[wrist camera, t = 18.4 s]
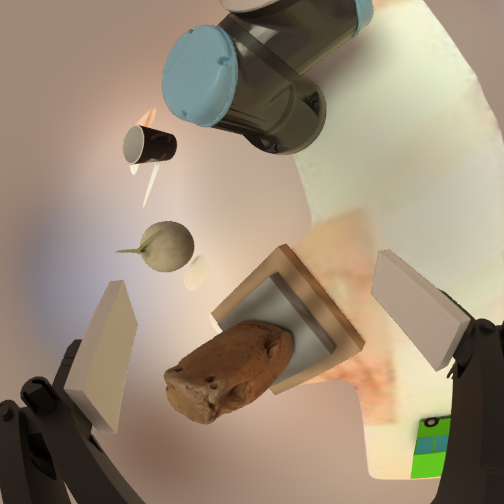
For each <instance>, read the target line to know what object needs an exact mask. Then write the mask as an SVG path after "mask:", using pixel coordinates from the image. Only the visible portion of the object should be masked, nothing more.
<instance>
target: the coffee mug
mask: <svg viewBox="0 0 504 504" xmlns="http://www.w3.org/2000/svg"><path fill="white" fill-rule="evenodd" d="M176 149H177V141H176V138H175V137H174V135H172V134H169V133H165V132H162V131H159V130H155V129H151V128H147V127H144V126H140V125H133V126H131V127H130V128H129V129H128V131H127V132H126V134H125V137H124V141H123V147H122V150H123V157H124V159H125V161H126V162H127V163H128V164H139V163H147V162H156V161H164V160H170V159H171V158H172V157H173V156H174V154H175V152H176Z"/></svg>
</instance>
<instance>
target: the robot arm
mask: <svg viewBox="0 0 504 504" xmlns="http://www.w3.org/2000/svg"><path fill="white" fill-rule="evenodd" d="M220 3H221V5H222V6H223V7H224V8H225V9H226V10H228V11H230V13H229V14H228V15H227V16H226V17H225V18H224V19H223V20H222V21H221V22H220V23H219V24H218V25H217V26H214V25H200V26H197V27H195V29H194V30H192V29H191V30H189V31H187V32H186V33H185V34H184V35H182V36H181V37H180V38H179V39H178V41H177V42H176V43H175V44H174V46H173V48H172V49H171V51H170V53H169V55H168V57H167V59H166V63H165V65H164V69H163V79H162V92H163V97H164V100H165V103H166V105H167V107H168V108H169V110H170V111H171V112H172V113H173V114H174V115H175V116H176V117H178V118H180V119H182V120H185V121H188V122H191V123H194V124H197V125H198V126H201V127H212V128H216V129H220V130H225V131H229V132H234V133H237V134H241V135H243V136H244V137H245V138H246V139H247V140H248V141H249V142H250V143H251V144H252V145H254V146H255V147H257V148H258V149H260V150H262V151H265V152H268V153H272V154H277V155H288V154H293V153H296V152H299V151H301V150H303V149H304V148H306V147H307V146H309V145H310V144H311V143H312V142H313V141H314V140H315V139H316V138H317V136H318V135H319V133H320V132H321V130H322V128H323V125H324V122H325V117H326V104H325V100H324V97H323V95H322V93H321V91H320V89H319V88H318V87H317V86H316V85H315V84H314V83H313V82H312V81H311V80H310V79H309V78H307V77H306V76H304V75H303V74H304V73H305V72H307V71H308V70H309V69H310V68H312V67H313V66H314V65H316V64H317V63H318V62H320V61H321V60H322V59H323V58H325V57H326V56H327V55H329V54H330V53H331V52H333V51H334V50H336V49H337V48H338V47H340V46H341V45H342V44H344V43H345V42H347V41H348V40H350V39H352V38H353V37H355V36H356V35H357V34H358V32H359V31H360V30H361V29H362V28H364V27H365V26H366V25H367V24H368V23H369V22H370V21H371V19H372V17H373V11H374V10H373V3H372V0H220ZM371 294H372V296H373V297H374V298H375V299H376V300H377V301H378V302H379V303H380V305H381V306H382V307H383V308H384V309H385V310H386V311H387V313H388V314H389V315H390V316H391V317H392V318H393V320H394V321H395V322H396V323H397V324H398V325H399V327H400V328H401V329H402V330H403V331H404V333H405V334H406V335H407V336H408V337H409V339H410V340H411V341H412V342H413V343H414V345H415V346H416V347H417V348H418V350H419V351H420V352H421V353H422V355H423V356H424V357H425V358H426V360H427V361H428V362H429V363H430V365H431V366H432V367H433V368H434V370H435V371H436V372H437V371H439V370H441V369H443V368H444V367H446V366H447V365H448V364H449V362H450V360H451V358H452V356H453V358H454V359H455V360H456V361H455V363H454V364H453V366H452V368H451V370H450V371H449V373H448V375H447V378H449V377H450V375H451V374H452V373H453V376H452V378H451V379H453V393H452V409H451V420H450V429H449V436H448V443H447V450H446V455H445V461H444V466H443V471H442V475H441V480H440V484H439V488H438V492H437V494H436V497H435V499H434V500H433V501H432V502H431V504H504V321H503V323H502V325H497V326H495V325H494V324H493V323H492V322H491V321H489V320H487V319H481V318H480V319H477V320H475V319H474V318H473V317H472V316H471V315H470V314H469V313H468V312H467V311H466V310H465V309H464V308H462V307H461V306H460V305H459V304H457V302H456V301H455V300H452V298H451V297H450V296H449V295H448V294H447V293H445V292H444V291H442V290H440V289H438V288H436V287H435V286H434V285H433V284H431V283H430V282H429V281H428V280H427V279H426V278H424V277H423V276H422V275H421V274H420V273H418V272H417V271H416V270H415V269H413V268H412V267H411V266H410V265H408V264H407V263H406V262H405V261H404V260H402V259H401V258H400V257H398V256H397V255H396V254H395V253H393V252H392V251H391V250H382V251H378V257H377V263H376V269H375V274H374V280H373V285H372V290H371ZM137 326H138V323H137V320H136V318H135V315H134V312H133V309H132V306H131V302H130V299H129V296H128V293H127V289H126V286H125V283H124V280H119V281H110V282H109V284H108V286H107V288H106V290H105V292H104V294H103V296H102V298H101V300H100V302H99V304H98V306H97V308H96V311H95V313H94V315H93V317H92V319H91V321H90V324H89V326H88V328H87V330H86V333H85V335H84V337H83V340H74V341H73V343H72V344H71V345H70V346H69V347H68V348H67V350H66V353H65V355H64V359H63V360H62V362H61V366H60V367H59V369H58V372H57V374H56V377H55V379H54V382H53V384H52V386H51V384H50V383H49V382H48V380H47V379H46V378H44V377H34V378H31V379H30V380H28V381H27V382H26V383H25V384H24V386H23V387H22V390H21V393H20V394H21V399H22V401H23V402H24V403H25V404H26V405H27V406H28V407H23V408H19V406H18V405H17V404H16V403H15V402H14V401H12V400H5V401H3V402H1V403H0V489H1V494H2V499H3V504H71V502H70V499H69V496H68V493H67V490H66V487H65V484H64V482H65V483H66V485H67V487H68V489H69V490H70V492H71V493H72V495H73V497H74V499H75V500H76V502H77V503H78V504H145V502H144V501H143V500H142V499H141V498H140V497H139V496H138V495H137V493H136V492H135V491H134V490H133V489H132V488H131V486H130V485H129V484H128V483H127V481H126V480H125V479H124V478H123V476H122V475H121V474H120V473H119V471H118V470H117V469H116V467H115V466H114V465H113V463H112V462H111V461H110V459H109V458H108V456H107V455H106V454H105V452H104V451H103V449H102V448H101V446H100V445H99V443H98V442H97V440H96V439H95V437H94V436H93V435H92V434H91V429H92V425H93V426H94V427H95V428H96V429H97V430H98V432H102V433H113V434H116V433H117V426H118V420H119V413H120V407H121V401H122V395H123V390H124V385H125V380H126V375H127V370H128V365H129V360H130V356H131V351H132V347H133V343H134V338H135V334H136V330H137Z"/></svg>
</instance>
